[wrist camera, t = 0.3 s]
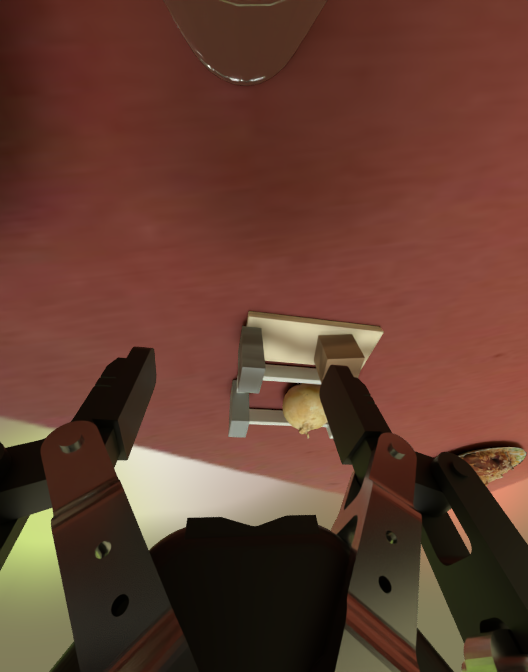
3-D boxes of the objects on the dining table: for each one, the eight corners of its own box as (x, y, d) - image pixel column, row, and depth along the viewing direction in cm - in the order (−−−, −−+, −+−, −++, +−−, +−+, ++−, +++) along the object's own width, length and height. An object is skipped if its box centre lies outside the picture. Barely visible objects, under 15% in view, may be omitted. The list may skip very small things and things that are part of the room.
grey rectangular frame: (235, 361, 35) (234, 402, 30) (354, 371, 39) (373, 410, 33) (227, 410, 43) (225, 450, 37) (328, 415, 46) (340, 453, 40)
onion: (283, 375, 39) (290, 414, 33) (332, 374, 39) (347, 413, 34) (278, 406, 44) (283, 445, 38) (322, 405, 44) (333, 443, 39)
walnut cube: (318, 335, 32) (327, 359, 29) (351, 334, 33) (365, 357, 29) (313, 360, 35) (321, 384, 32) (344, 358, 35) (355, 383, 32)
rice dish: (508, 467, 72) (526, 488, 68) (413, 494, 78) (424, 515, 73) (526, 422, 56) (550, 444, 52) (403, 459, 61) (416, 483, 57)
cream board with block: (243, 310, 31) (244, 356, 24) (379, 326, 34) (412, 370, 27) (237, 352, 35) (236, 400, 28) (358, 363, 38) (382, 408, 32)
